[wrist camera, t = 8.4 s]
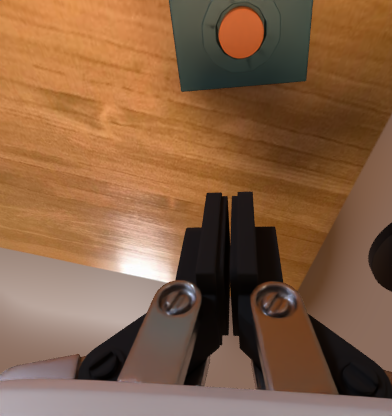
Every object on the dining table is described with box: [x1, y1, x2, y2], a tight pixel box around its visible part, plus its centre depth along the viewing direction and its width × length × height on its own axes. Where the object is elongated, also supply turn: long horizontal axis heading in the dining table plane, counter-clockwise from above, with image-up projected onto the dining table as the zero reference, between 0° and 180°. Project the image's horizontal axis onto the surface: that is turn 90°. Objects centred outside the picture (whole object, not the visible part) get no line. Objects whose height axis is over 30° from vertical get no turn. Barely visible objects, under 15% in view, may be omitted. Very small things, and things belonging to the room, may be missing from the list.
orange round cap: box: [219, 6, 264, 59], centre depth 27 cm, size 4×4×2 cm
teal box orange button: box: [169, 0, 313, 92], centre depth 29 cm, size 12×10×5 cm
